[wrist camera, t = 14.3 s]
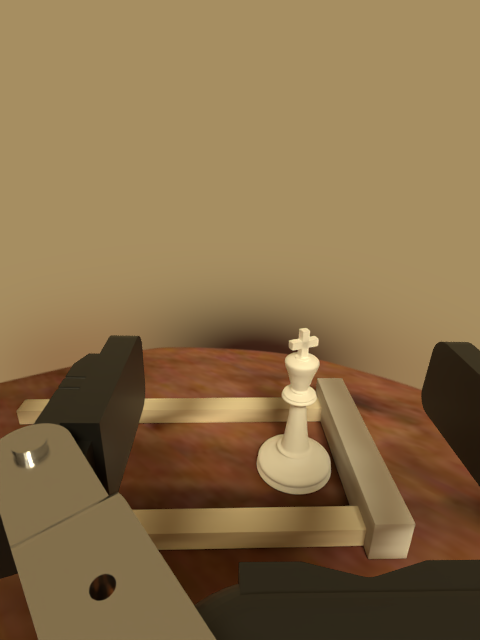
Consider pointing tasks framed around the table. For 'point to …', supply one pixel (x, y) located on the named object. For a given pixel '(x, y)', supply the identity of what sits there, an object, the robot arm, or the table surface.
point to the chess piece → (296, 430)
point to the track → (284, 522)
